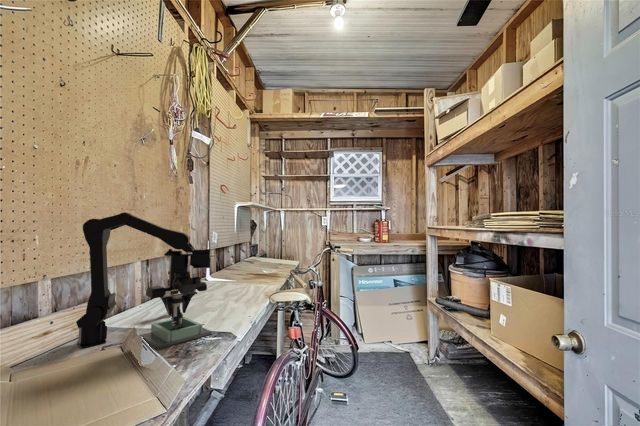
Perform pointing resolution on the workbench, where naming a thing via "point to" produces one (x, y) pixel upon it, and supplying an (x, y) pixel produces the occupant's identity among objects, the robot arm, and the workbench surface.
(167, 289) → the robot arm
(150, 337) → the mounting plate
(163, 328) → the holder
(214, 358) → the workbench surface
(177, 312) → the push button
